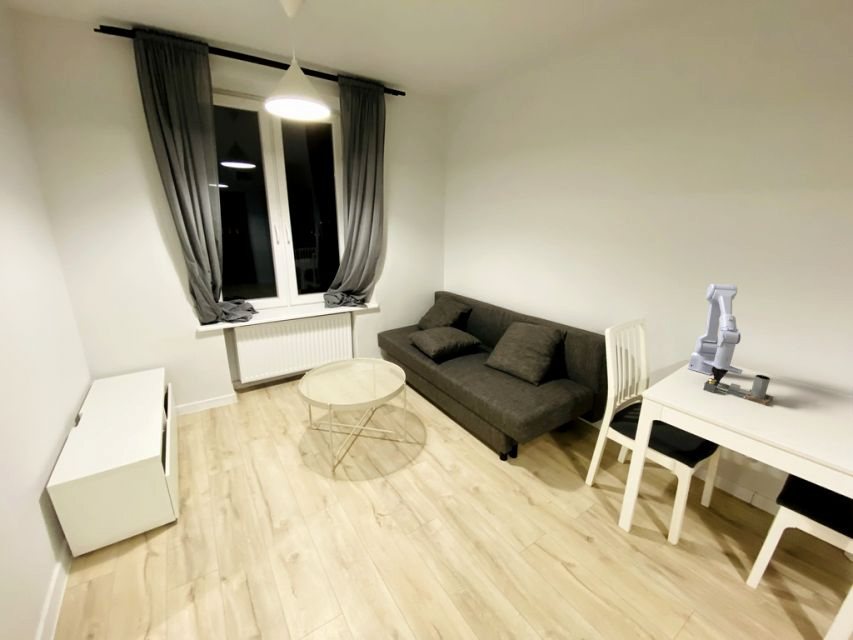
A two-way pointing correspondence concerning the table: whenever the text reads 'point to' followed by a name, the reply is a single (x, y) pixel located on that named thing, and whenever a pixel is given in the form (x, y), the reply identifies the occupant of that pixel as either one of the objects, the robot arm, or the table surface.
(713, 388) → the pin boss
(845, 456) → the table surface
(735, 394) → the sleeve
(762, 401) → the frame
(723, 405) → the table surface
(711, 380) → the brass knob
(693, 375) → the table surface
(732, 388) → the grey notched block
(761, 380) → the planter
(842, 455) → the table surface
